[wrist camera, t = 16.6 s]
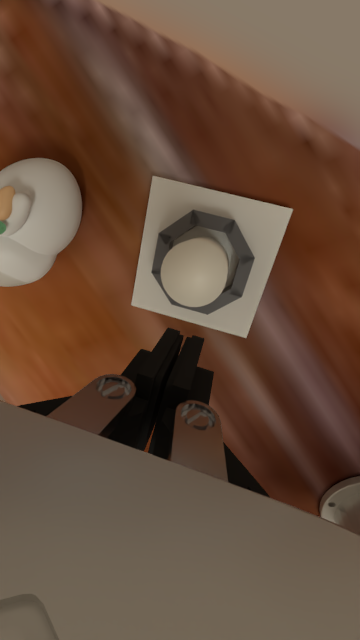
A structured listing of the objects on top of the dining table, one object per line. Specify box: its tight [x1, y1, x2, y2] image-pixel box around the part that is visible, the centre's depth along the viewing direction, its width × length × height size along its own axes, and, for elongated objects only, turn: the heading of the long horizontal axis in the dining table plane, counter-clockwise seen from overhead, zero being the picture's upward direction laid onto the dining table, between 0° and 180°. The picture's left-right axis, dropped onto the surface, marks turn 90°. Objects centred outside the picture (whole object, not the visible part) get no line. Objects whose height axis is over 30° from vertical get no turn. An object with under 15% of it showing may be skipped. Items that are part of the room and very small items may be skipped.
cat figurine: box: [0, 158, 82, 287], centre depth 26 cm, size 10×8×15 cm
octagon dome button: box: [131, 176, 293, 338], centre depth 26 cm, size 13×13×3 cm
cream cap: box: [161, 236, 229, 307], centre depth 23 cm, size 5×5×7 cm
